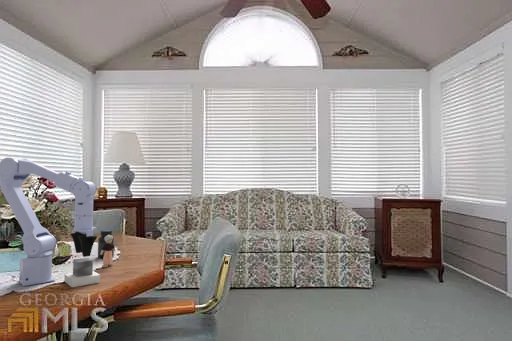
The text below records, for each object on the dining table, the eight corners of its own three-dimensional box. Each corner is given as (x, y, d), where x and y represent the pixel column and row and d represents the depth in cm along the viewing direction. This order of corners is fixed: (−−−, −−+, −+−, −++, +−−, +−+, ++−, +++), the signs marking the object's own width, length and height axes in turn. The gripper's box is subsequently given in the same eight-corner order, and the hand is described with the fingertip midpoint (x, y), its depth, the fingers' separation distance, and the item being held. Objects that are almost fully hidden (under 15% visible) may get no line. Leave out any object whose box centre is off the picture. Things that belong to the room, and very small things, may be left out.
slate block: (76, 277, 120) (77, 262, 120) (72, 274, 124) (73, 259, 124) (92, 274, 123) (92, 260, 123) (88, 271, 127) (88, 257, 127)
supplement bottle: (116, 256, 163) (117, 230, 163) (103, 259, 157) (104, 232, 157) (107, 254, 167) (108, 229, 167) (94, 257, 161) (95, 230, 161)
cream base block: (71, 288, 117) (71, 279, 117) (64, 282, 124) (64, 273, 124) (99, 283, 123) (100, 274, 123) (91, 278, 130) (91, 269, 130)
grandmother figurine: (106, 268, 142) (107, 236, 142) (98, 267, 143) (98, 236, 143) (117, 263, 149) (118, 233, 150) (109, 263, 150) (110, 233, 150)
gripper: (103, 216, 121) (102, 256, 121) (89, 213, 132) (88, 249, 132) (81, 217, 116) (79, 259, 116) (68, 214, 127) (67, 252, 127)
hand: (82, 254), depth 124 cm, fingers open, 7 cm apart
